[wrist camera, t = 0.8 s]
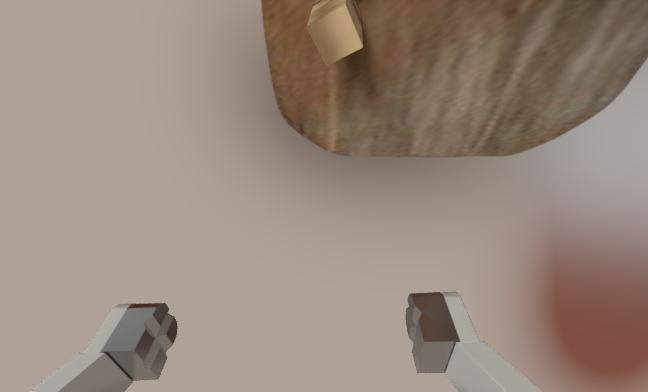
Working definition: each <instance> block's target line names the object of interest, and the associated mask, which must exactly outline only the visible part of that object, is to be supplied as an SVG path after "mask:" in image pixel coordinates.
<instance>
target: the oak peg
mask: <svg viewBox="0 0 648 392" xmlns="http://www.w3.org/2000/svg"><path fill="white" fill-rule="evenodd" d="M307 29H308V31H309V33H310V35H311V37H312V39H313V41H314V43H315V45H316V47H317V48H318V50H319V52H320V54H321V56H322V58H323V60H324V62H325V64H326V66H328V65H330V64H331V63H333V62H335V61H337V60H339V59H341V58H343V57H345V56H347V55H349V54H351V53H353V52H355V51H357V50H359V49H361V48H363V37H362V21H361V15H360V12H359V10H358V7H357V4H356V2H355V0H315V2H314V4H313V9H312V12H311V15H310V18H309V22H308V25H307Z"/></svg>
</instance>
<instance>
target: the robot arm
mask: <svg viewBox="0 0 648 392" xmlns="http://www.w3.org/2000/svg"><path fill="white" fill-rule="evenodd" d="M408 303H409V307H408V308H407V309H406V325H407V331H408V335H409V338H410V339H411V340H412V341H413V342H414V344H413V349H412V353H413V357H414V362H415V366H416V370H417V373H445V375H446V377H447V378H448V379H449V380H450V382H451V383H452V384H453V385H454V387H455V388H456V389H457V390H458V391H459V392H542V391H541V390H539V389H538V388H537V387H536V386H535V385H534V384H532V383H531V382H530V381H529V380H528V379H527V378H526V377H525V376H524V375H522V374H521V373H520V372H519V371H518V370H517V369H516V368H514V367H513V366H512V365H511V364H510V363H509V362H508V361H506V360H505V359H504V358H503V357H502V356H501V355H500V354H499V353H497V352H496V351H495V350H494V349H493V348H491V347H490V346H489V345H488V344H487V343H486V342H484V341H479V338H478V336H477V334H476V331H475V329H474V327H473V324H472V322H471V320H470V317H469V315H468V313H467V310H466V308H465V306H464V303H463V301H462V299H461V296H460V295H459V294H458V293H457V292H445V293H440V292H433V293H416V294H415V293H414V294H409V296H408ZM168 310H169V308H168V307H167V305H166V304H165V303H150V304H149V303H148V304H118V305H117V306H115V307H114V308H113V309H112V311H111V312H110V314H109V315H108V317H107V318H106V320H105V321H104V323H103V324H102V326H101V328H100V329H99V330H98V332H97V334H96V335H95V337H94V338H93V340H92V341H91V343H90V344H89V346H88V347H87V349H86V350H85V352H84V353H79V354H78V355H76V356H75V357H74V358H73V359H71V360H70V361H69V362H67V363H66V364H65V365H63V366H62V367H61V368H59V369H58V370H57V371H56V372H55V373H53V374H52V375H50V376H49V377H48V378H47V379H45V380H44V381H43V382H41V383H40V384H39V385H37V386H36V387H35V388H34V389H32V390H31V391H30V392H124V391H125V390H126V389H127V388H128V387H129V386H130V385H131V384H132V381H137V380H155V379H159V377H160V374H161V372H162V369H163V367H164V365H165V362H166V360H167V356H166V351H167V350H168V349H169V348H170V347H171V346H172V345H173V343H174V341H175V338H176V335H177V321H176V319H175V318H174V316H172V315H170V314H168V313H167V312H168Z"/></svg>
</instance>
